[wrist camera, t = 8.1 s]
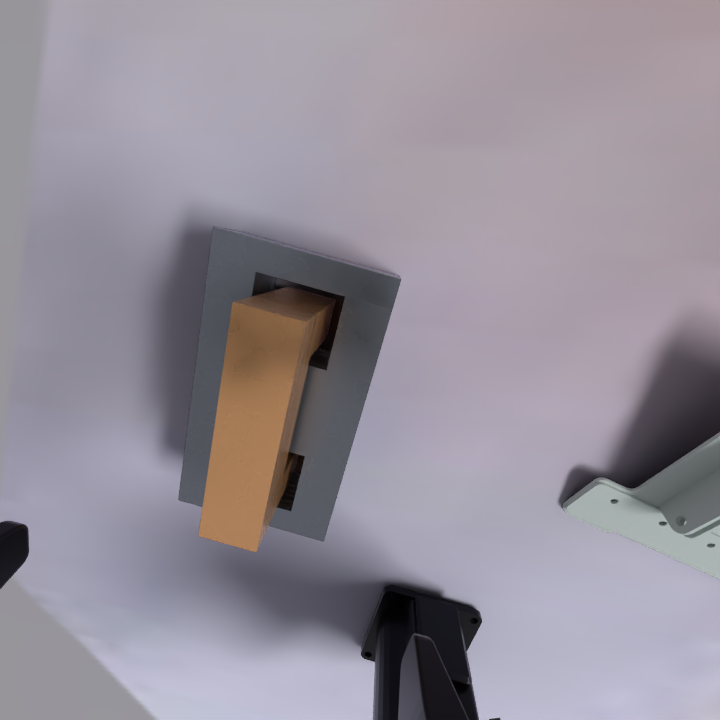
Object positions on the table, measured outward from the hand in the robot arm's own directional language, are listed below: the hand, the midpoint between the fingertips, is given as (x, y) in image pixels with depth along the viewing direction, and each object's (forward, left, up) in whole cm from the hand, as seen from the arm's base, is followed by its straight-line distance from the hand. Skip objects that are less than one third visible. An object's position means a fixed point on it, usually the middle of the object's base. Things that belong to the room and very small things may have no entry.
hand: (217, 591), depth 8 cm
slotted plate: (0, +2, -12) cm, 12 cm away
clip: (0, +2, -12) cm, 12 cm away
